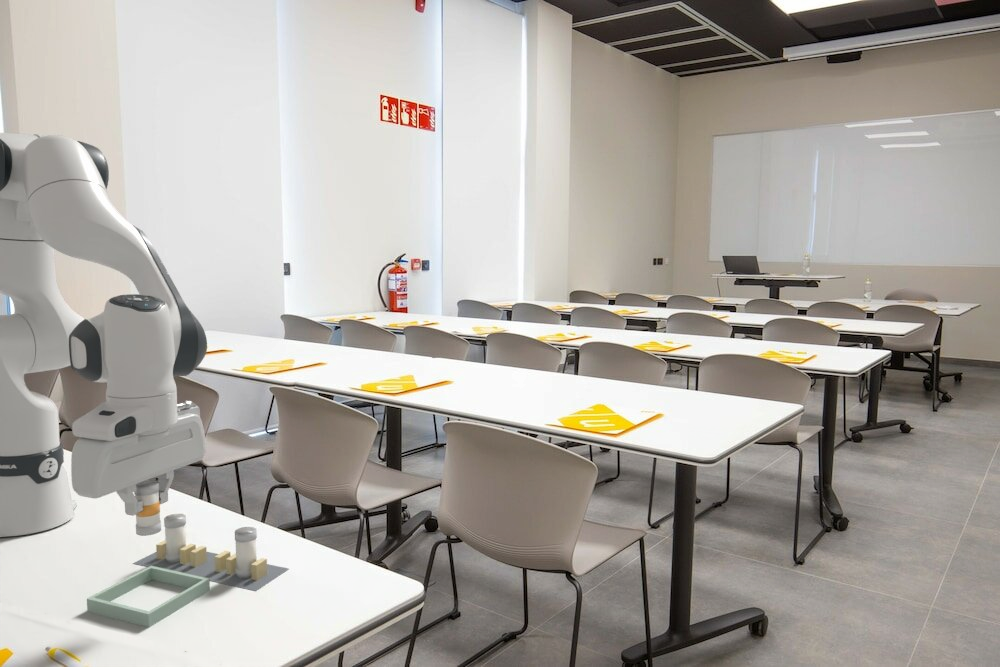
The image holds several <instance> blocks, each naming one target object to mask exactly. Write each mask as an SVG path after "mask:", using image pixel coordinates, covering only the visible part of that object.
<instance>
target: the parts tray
mask: <svg viewBox="0 0 1000 667" xmlns="http://www.w3.org/2000/svg"><path fill="white" fill-rule="evenodd" d="M149 581H156V582H159V583H164V584H169V585H174V586H178V587H182V588H186V589H185V590H183V591H182V592H180V593H178V594H176V595H175V596H173V597H171V598H169V599H168V600H166V601H164V602H163V603H161V604H159V605H158V606H156V607H154V608H152V609H151V610H149V611H148V610H144V609H140V608H138V607H132V606H128V605H125V604H120V603H116V602H113V601H114V600H116V599H117V598H120V597H122V596H123V595H126V594H127V593H129V592H131V591H133V590H134V589H137V588H139V587H140V586H143V585H144V584H146V583H148V582H149ZM210 582H211V581H210V579H209V578H204V577H200V576H195V575H191V574H186V573H182V572H177V571H173V570H168V569H164V568H159V567H155V566H150V567H145V568H144V569H142V570H140V571H138V572H136V573H134V574H132V575H130V576H127V577H126V578H124V579H123V580H121V581H118V582H116V583H115V584H113V585H111V586H109V587H107V588H105V589H103V590H101V591H98V593H95V594H93V595H91V596H89V597H87V598H86V607H87V609H86V612H87V613H93V614H96V615H100V616H103V617H107V618H112V619H114V620H115V619H116V620H119V621H124V622H127V623H131V624H133V625H138V626H143V627H146V628H151V627H153V626H155V625H156V624H157V623H159V622H161V621H162V620H164V619H165V618H167V617H169V616H171V615H173V614H174V613H176V612H177V611H179V610H180V609H182V608H184V607H185V606H187V605H188V604H190V603H192V602H193V601H196V599H199V598H200V597H202V596H203V595H205V594H207V593H208V592H210V591H211V590H210V589H211V587H210Z"/></svg>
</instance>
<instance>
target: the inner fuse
mask: <svg viewBox="0 0 1000 667" xmlns="http://www.w3.org/2000/svg"><path fill="white" fill-rule="evenodd" d="M186 517H187V516H186V514H184V513H173V514H169V515H168V514H167V515H166V516H165V517H164V518H163V526H164V534H165V536H164V537H165V540H166V553H165V558H166V562H168V563H177V562H180V551H179V549H181V548H183V547H185V546H187V536H186V535H187V534H186V533H187V532H186V524H187V518H186ZM165 540H164V541H165Z"/></svg>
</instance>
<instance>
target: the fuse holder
mask: <svg viewBox="0 0 1000 667" xmlns="http://www.w3.org/2000/svg"><path fill="white" fill-rule="evenodd" d="M155 546H156V547H155V549H156V550H155V551H156V552H153V553H151V554H149V555H146V556H144V557H143V558H141V559H139V560H137V561H134V562H133V563H132V565H133V564H134V565H136V566H141V567H145V568H148V567H150V566H155V567H159V568H164V569H168V570H173V571H177V572H182V573H186V574H191V575H195V576H200V577H204V578H209V579H210V582H213V583H217V584H222V585H227V586H231V587H235V588H240V589H245V590H248V591H253V592H258V591H259V590H260V589H262V588H264V587H265V586H266V585H267V584H269V583H270V582H272V581H273V580H275V579H277V578H279V576H282V575H283V574H285V572H287V571H288V570H290V568H287V567H284V566H283V567H282V566H277V565H274V564H273V565H272V564H269V563H268V559H267V558H263V557H260V558H259V559H258V560H257V561H256V562H254V563H252V564H251V578H238V577H236V553H234V554H231V551H230V550H224V551H222V552H220V553H216V552H210V551H207V546H205V545H204V546H203V545H201V546H198V547H196V546H197V545H196V544H194V543H189V544H186V546H185V547H183V548H181V549H179V551H180V562H177V563H168V562H166V558H165V553H166V540H162V541H161V542H159V543H156V545H155Z"/></svg>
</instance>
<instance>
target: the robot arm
mask: <svg viewBox="0 0 1000 667" xmlns="http://www.w3.org/2000/svg"><path fill="white" fill-rule="evenodd" d="M107 161H108V160H107V159H106V157H105V155H104V154H103V152H102V150H101V149H99V147H96V146H94V145H92V144H90V143H86V142H83V141H81V140H75V139H74V138H72V137H70V136H69V137H68V136H65V135H59V134H51V135H49V134H48V135H43V134H37V133H36V134H25V133H16V132H13V133H12V132H0V294H2V295H5V296H6V297H9V298H10V299H11V301H12V303H13V307H14V308H13V309H14V311H13V312H14V313H13V314H1V315H0V538H4V537H18V536H24V535H31V534H35V533H40V532H44V531H47V530H51V529H54V528H56V527H59V526H61V525H64V524H65V523H67V522H69V521H71V520H72V519H73V518H74V516H75V511H74V510H75V509H76V507H77V506H78V505H77V500H75V499H73V498H72V491H71V485H72V489H73V491H74V492H75V493H76V494H77V496H80V497H84V498H88V499H89V498H90V499H99V498H102V497H105V496H108V495H111V494H112V493H115V492H116V494H117V495H118V496H119V498H120V499H121V501H122V502H123V503H124V512H125V515H127V516H132V517H133V516H136V514H138V513H141V512H143V507H142V506H143V500H137V499H136V497H135V494H134V492H135V491H136V484H137V483H140V482H143V481H146V480H152V479H154V478H157V481H159V501H160V505H162V504H164V503H167V502H169V489H170V487H171V485H172V483H173V480H174V478H175V471H176V470H178V469H180V468H184V467H186V466H189V465H191V464H194V463H197V462H200V461H202V460H203V459H204V457H205V456H206V453H207V444H206V436H205V430H204V425H203V424H204V423H203V421H202V419H201V410H200V407H199V406H198V405H197V403H195V402H193V401H192V400H185V401H183V402H180V403H178V396H177V395H178V390H177V385H176V381H175V379H174V378H175V377H186V376H189V375H190V374H191V373H193V372H194V371H195V370H196V369H197V367H199V366H200V364H201V363H202V361H203V360H204V358H205V356H206V355H207V350H208V340H207V335H206V333H205V332H206V331H205V330H204V328H203V325H202V324H201V323H200V321H199V319H198V318H197V317H196V316H195V315H194V313H192V311H191V309H190V308H189V307H188V306H187V304H186V303H185V301H184V299H183V297H182V295H181V294H180V292H179V290H178V288H177V286H176V284H175V283H174V281H173V279H172V278H171V275H170V274H169V272H168V270H167V269H166V267H165V265H164V263H163V261H162V259H161V257H160V256H159V254H158V253H157V251H156V249H155V247H154V246H153V244H152V242H151V241H150V239H149V238H148V236H147V234H145V232H144V231H143V230H141V229H140V228H138V227H136V226H135V225H133V224H132V223H131V222H129V221H128V220H127V219H126V218H125V217H124V216H123V215H122V214H121V213H120V212H119V211H118V209H117V208H116V207H115V205H114V203H113V202H112V201H111V199H110V197H109V194H108V191H107V188H108V185H109V180H110V179H109V177H110V175H109V173H110V172H109V165H108V162H107ZM55 251H57V252H59V253H61V254H63V255H65V256H67V257H68V256H69V257H70V258H71V257H72V258H74V259H78V260H83V261H87V262H91V263H94V264H98V265H101V266H105V267H107V268H110V269H112V270H115V271H118V272H120V273H121V274H123V275H124V276H125V277H127V279H129V280H130V281H131V282H132V283H133V285H134V286H135V289H136V290H137V292H138V294H135V293H133V294H131V293H130V294H121V295H116V296H112V297H110V298H109V299H107V301H106V302H105V304H104V309H103V311H102V312H100V314H97V315H95V316H92V317H90V318H84V317H83V316H82V315H80V314H78V313H77V312H76V311H75V310H73V309H72V307H70V306H69V305H68V303H67V302H66V301H65V299H64V297H63V296H62V293H61V291H60V288H59V286H58V285H59V284H58V282H57V275H56V274H57V271H56V260H55V259H56V258H55V256H56V255H55ZM67 367H71V369H72V370H73V371H74V372H75V373H76V374H78V375H79V376H80V377H81V378H83V379H84V380H86V381H88V382H94V383H107V384H106V385H107V386H106V391H105V401H103V402H101V403H100V404H99V405H97V406H96V407H95V408H93V409H92V410H90V411H89V412H87V413H86V414H84V415H82V416H80V417H79V418H77V419H76V420H74V421H73V422H72V424H71V426H72V427H71V430H72V431H71V432H72V434H73V436H74V437H78V439H77V440H76V441H75V442H74V444H73V448H72V451H71V463H70V464H71V465H70V466H71V467H70V468H71V469H70V470H71V472H70V473H71V485H70V479H69V474H68V470H67V468H66V467H65V466H64V465H63V463H64V462H65V460H64V459H65V458H64V455H65V450H64V448H63V444H62V443H61V442H60V441H61V440H60V424H59V422H60V420H59V409H58V407H57V405H56V404H55V402H54V401H53V400H52V399H51V398H50V397H49V396H46V395H44V394H41V393H39V392H35V391H33V390H29V388H28V387H27V385H26V382H25V375H26V374H33V373H41V372H46V371H54V370H60V369H63V368H67Z"/></svg>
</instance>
